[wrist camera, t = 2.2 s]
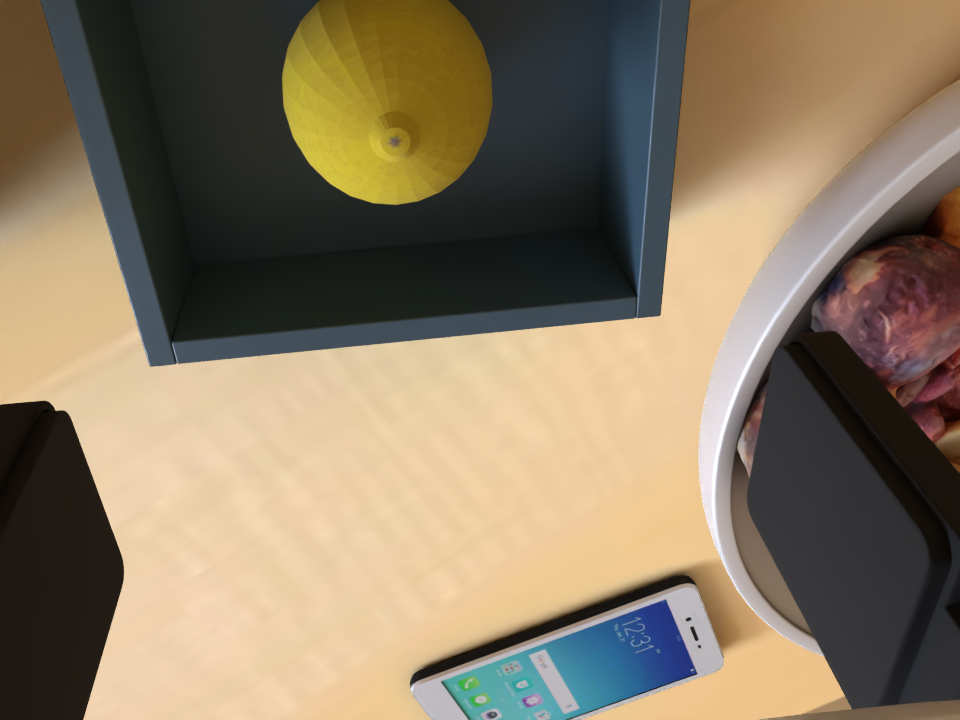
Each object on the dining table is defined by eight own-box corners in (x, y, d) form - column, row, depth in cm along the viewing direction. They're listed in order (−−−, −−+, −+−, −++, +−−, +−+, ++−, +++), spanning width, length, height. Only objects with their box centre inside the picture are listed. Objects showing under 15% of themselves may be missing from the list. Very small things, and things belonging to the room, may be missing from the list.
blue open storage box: (177, 282, 30) (149, 367, 26) (45, -225, 22) (-29, -226, 18) (617, 242, 32) (660, 316, 27) (645, -249, 23) (716, -256, 19)
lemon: (438, -75, 25) (472, -23, 18) (494, 106, 28) (541, 208, 21) (257, -8, 25) (227, 68, 19) (333, 164, 28) (330, 282, 22)
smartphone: (405, 688, 43) (695, 581, 41) (404, 673, 43) (689, 568, 42) (463, 762, 47) (728, 668, 45) (461, 748, 47) (722, 655, 46)
